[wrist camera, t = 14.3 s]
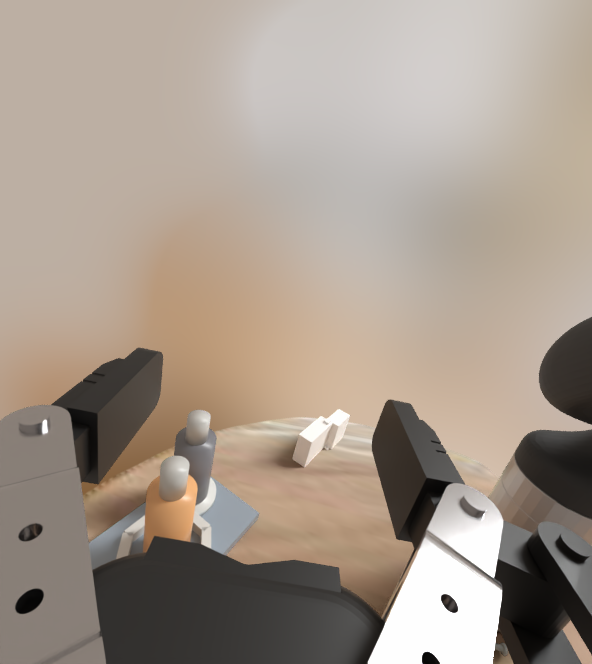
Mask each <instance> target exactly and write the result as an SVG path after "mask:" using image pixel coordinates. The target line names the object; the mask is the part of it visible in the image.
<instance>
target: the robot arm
mask: <svg viewBox="0 0 592 664" xmlns="http://www.w3.org/2000/svg"><path fill="white" fill-rule="evenodd" d="M162 365H163V355H162V353H161V352H158V351H153V350H148V349H144V348H137V349H136V350H135V351H133V352H132V353H131V354H130V355H129V356H127V357H126V358H125V359H120V358H118V359H115V360H113V361H110V362H107V363H105V364H103V365H101V366H100V367H99V368H97V369H96V370H95V371H94V372H93V373H92V374H90V375H89V376H87V377H86V378H85V379H84V380H83V382H82V381H81V382H80V383H78V384H77V385H76V386H74V387H73V388H72V389H71V390H69V391H68V392H67V393H66V394H64V395H63V396H62V397H60V398H59V399H58V400H57V401H55V402H54V403H53V404H52V405H39V406H32V407H27V408H24V409H20V410H18V411H15V412H13V413H11V414H9V415H7V416H6V417H4V418H3V419H2V420H1V421H0V664H492V660H493V653H494V646H495V639H496V632H497V631H499V632H500V633H501V634H502V636H503V639H504V641H505V644H506V646H507V648H508V651H509V653H510V656H511V658H512V660H513V663H514V664H582V663H581V662H580V660H579V658H578V656H577V655H576V653H575V651H574V649H573V648H572V646H571V644H570V642H569V641H568V639H567V637H566V635H565V633H564V632H563V630H562V629H563V628H564V627H565V626H566V625H567V623H568V622H569V621H570V620H571V621H572V623H573V624H574V626H575V628H576V629H577V631H578V633H579V634H580V636H581V638H582V639H583V641H584V643H585V644H586V646H587V648H588V649H589V651H590V653H591V654H592V430H586V431H577V432H576V431H574V432H567V431H551V430H537V431H533V432H531V433H528V434H527V435H526V436H525V437H524V438H523V440H522V441H521V443H520V444H519V446H518V448H517V449H516V451H515V453H514V454H513V456H512V458H511V459H510V462H509V463H508V465H507V466H506V468H505V470H504V471H503V473H502V475H501V477H500V478H499V480H498V482H497V483H496V485H495V487H494V488H493V490H492V492H491V493H490V495H489V497H488V498H487V497H486V496H485V495H484V494H482V493H481V492H479V491H478V490H476V489H474V488H472V487H470V486H467V485H465V483H464V482H463V480H462V478H461V476H460V475H459V473H458V471H457V470H456V468H455V466H454V464H453V463H452V461H451V459H450V457H449V456H448V454H446V451H445V449H444V447H443V445H441V442H440V440H439V438H438V437H437V435H436V433H435V432H434V431H433V429H431V428H430V427H429V426H428V425H427V424H426V423H425V422H424V421H423V420H419V418H418V416H417V415H416V412H415V411H414V409H413V407H412V405H411V404H409V403H404V402H400V401H394V400H388V401H387V402H386V403H385V406H384V408H383V411H382V413H381V416H380V419H379V421H378V424H377V427H376V429H375V432H374V435H373V439H372V452H373V456H374V459H375V463H376V467H377V470H378V474H379V477H380V481H381V485H382V488H383V492H384V495H385V499H386V503H387V506H388V510H389V513H390V517H391V521H392V524H393V528H394V531H395V535H396V539H398V540H403V541H409V542H412V543H413V546H414V550H413V552H412V554H411V556H410V558H409V560H408V562H407V564H406V567H405V569H404V571H403V573H402V575H401V577H400V579H399V581H398V583H397V586H396V588H395V590H394V592H393V594H392V596H391V598H390V600H389V602H388V605H387V607H386V609H385V611H384V613H383V615H382V617H380V616H379V615H378V613H377V612H376V611H375V610H374V609H373V608H372V607H370V606H369V605H368V604H367V603H366V602H365V601H364V600H362V599H361V598H360V597H359V596H357V595H356V594H354V593H353V592H351V591H350V590H348V589H346V588H345V587H342V586H341V585H340V574H339V568H338V567H332V566H326V565H321V564H315V563H309V562H303V561H298V560H290V561H281V562H271V563H262V564H253V565H246V564H243V563H240V562H238V561H236V560H234V559H232V558H230V557H227V556H225V555H223V554H221V553H219V552H217V551H215V550H213V549H211V548H209V547H206V546H204V545H202V544H199V543H193V542H188V541H182V540H176V539H170V538H164V537H159V536H154V537H153V539H152V542H151V544H150V546H149V548H148V550H147V552H145V553H137V554H133V555H128V556H124V557H121V558H118V559H115V560H112V561H110V562H108V563H106V564H103V565H101V566H99V567H97V568H95V569H93V570H92V564H91V557H90V549H89V541H88V534H87V526H86V518H85V510H84V503H83V495H82V487H81V483H82V481H83V482H88V483H94V484H99V483H100V481H101V480H102V479H103V477H104V476H105V475H106V473H107V472H108V471H109V469H110V468H111V467H112V465H113V464H114V462H115V461H116V460H117V458H118V457H119V456H120V454H121V453H122V452H123V450H124V449H125V448H126V446H127V445H128V444H129V442H130V441H131V440H132V438H133V437H134V436H135V434H136V433H137V431H138V430H139V429H140V428H141V426H142V425H143V423H144V422H145V421H146V419H147V418H148V417H149V415H150V414H151V413H152V411H153V410H154V408H155V407H156V405H157V403H158V400H159V396H160V391H161V379H162ZM539 383H540V388H541V391H542V393H543V395H544V396H545V398H546V399H547V400H548V401H549V402H550V404H552V405H553V406H554V407H556V408H557V409H559V410H560V411H561V412H563V413H565V414H567V415H569V416H571V417H573V418H576V419H578V420H581V421H583V422H586V423H588V424H592V317H591V318H589V319H587V320H584V321H583V322H581V323H579V324H577V325H576V326H574V327H573V328H571V329H570V330H568V331H567V332H566V333H565V334H563V335H562V336H561V337H560V338H559V339H558V340H557V341H556V342H555V343H554V344H553V345H552V346H551V348H550V349H549V350H548V352H547V353H546V355H545V357H544V359H543V361H542V364H541V367H540V372H539Z"/></svg>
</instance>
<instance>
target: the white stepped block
mask: <svg viewBox="0 0 592 664" xmlns="http://www.w3.org/2000/svg"><path fill="white" fill-rule="evenodd" d="M349 417H350V415H348V414H347V413H345V412H343V411H342V410H339V409H338V410H337V411H336V412H334V413H333V414H332V415H331V416H330V417H329V418H327V419H325V418H323V417H319V418H318V419H317V420H316V421H314V422H313V423H312V424H311V425H310V426H308V427H307V428H306V429H305V430H304V431H302V432H301V433H300V434H299V436H298V440H297V443H296V447H295V451H294V454H293V458H292V459H293V460H294V461H296V462H297V463H299V464H300V465H302V466H303V467H305V466H306V465H307V464H308V463H309V462H310V461H311V460H312V459H313V458H314V457H315V456H316V455H317V454H318V453H319V452H320V451H321V450H322V449H323V448H325V449H326V450H328V449H329V448H330V449H332V448H333V447H334V446H335V445H336V444H337V443H338V442H339V441H340V440H341V439H342V437H343V435H344V432H345V429H346V426H347V423H348V420H349Z"/></svg>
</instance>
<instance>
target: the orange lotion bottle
mask: <svg viewBox="0 0 592 664" xmlns="http://www.w3.org/2000/svg"><path fill="white" fill-rule="evenodd" d="M188 473H189V461H188V460H187V459H186V458H184V457H182V456H171V457H169V458H167V459H165V460H164V461H163V462H162V464H161V470H160V476H158V477H157V478H156V479H154V480H153V481H152V482H151V484H150V485H149V487H148V489H147V494H146V510H145V526H144V541H143V553H145V552H147V550H148V548H149V546H150V544H151V542H152V539H153V537H154V536H159V537H164V538H170V539H176V540H182V541H188V542H190V540H191V533H192V526H193V518H194V511H195V504H196V497H197V490H198V488H197V483H196V481H195V480H194V478H193V477H191V476H190V475H188Z"/></svg>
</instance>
